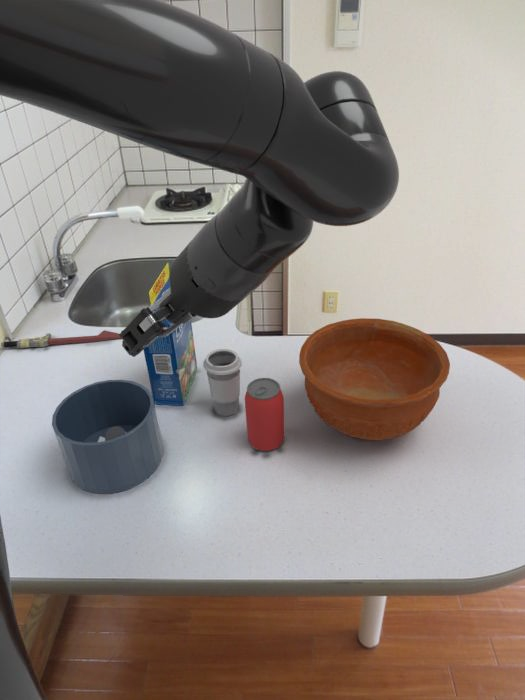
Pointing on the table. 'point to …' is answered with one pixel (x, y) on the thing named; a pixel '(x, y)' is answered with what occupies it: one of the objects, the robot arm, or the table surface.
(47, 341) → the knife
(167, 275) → the blue food package
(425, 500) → the table surface
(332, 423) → the bowl
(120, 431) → the dark grey cylinder
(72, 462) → the bowl
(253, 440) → the beer can
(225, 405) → the cup
